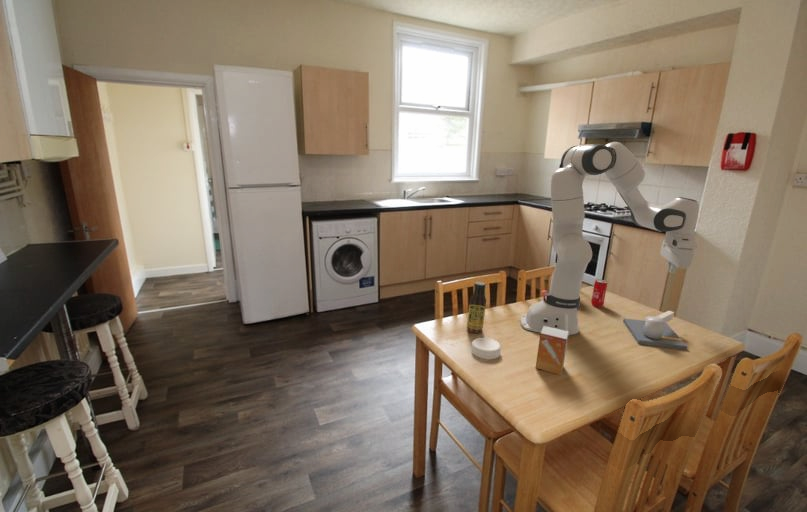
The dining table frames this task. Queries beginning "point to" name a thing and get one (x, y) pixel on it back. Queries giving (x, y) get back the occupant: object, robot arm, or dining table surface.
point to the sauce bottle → (477, 309)
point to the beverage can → (599, 293)
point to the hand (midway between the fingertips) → (670, 272)
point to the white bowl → (486, 348)
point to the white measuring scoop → (656, 324)
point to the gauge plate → (667, 340)
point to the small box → (552, 349)
